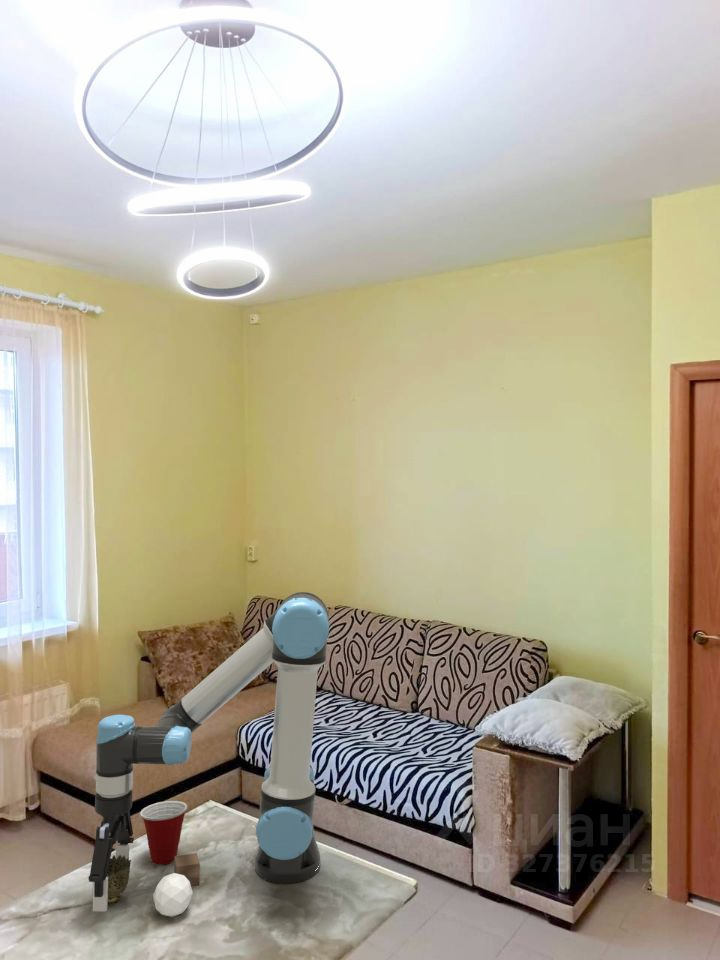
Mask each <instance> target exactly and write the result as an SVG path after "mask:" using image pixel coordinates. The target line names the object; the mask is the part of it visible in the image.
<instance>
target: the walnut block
mask: <svg viewBox="0 0 720 960" xmlns="http://www.w3.org/2000/svg"><path fill="white" fill-rule="evenodd" d="M173 864H174V865H173V873H176V874H181V875H184V876H185V877H186V878H187V879H188V880H189V881H190V885H191V888H194V887H200V881H201V880H200V879H201V878H200V875H201V873H200V872H201V871H200V869H201V862H200V858H199V855H198V852H192V853H186V854H179V855H178V854H177V856H174V861H173Z"/></svg>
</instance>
